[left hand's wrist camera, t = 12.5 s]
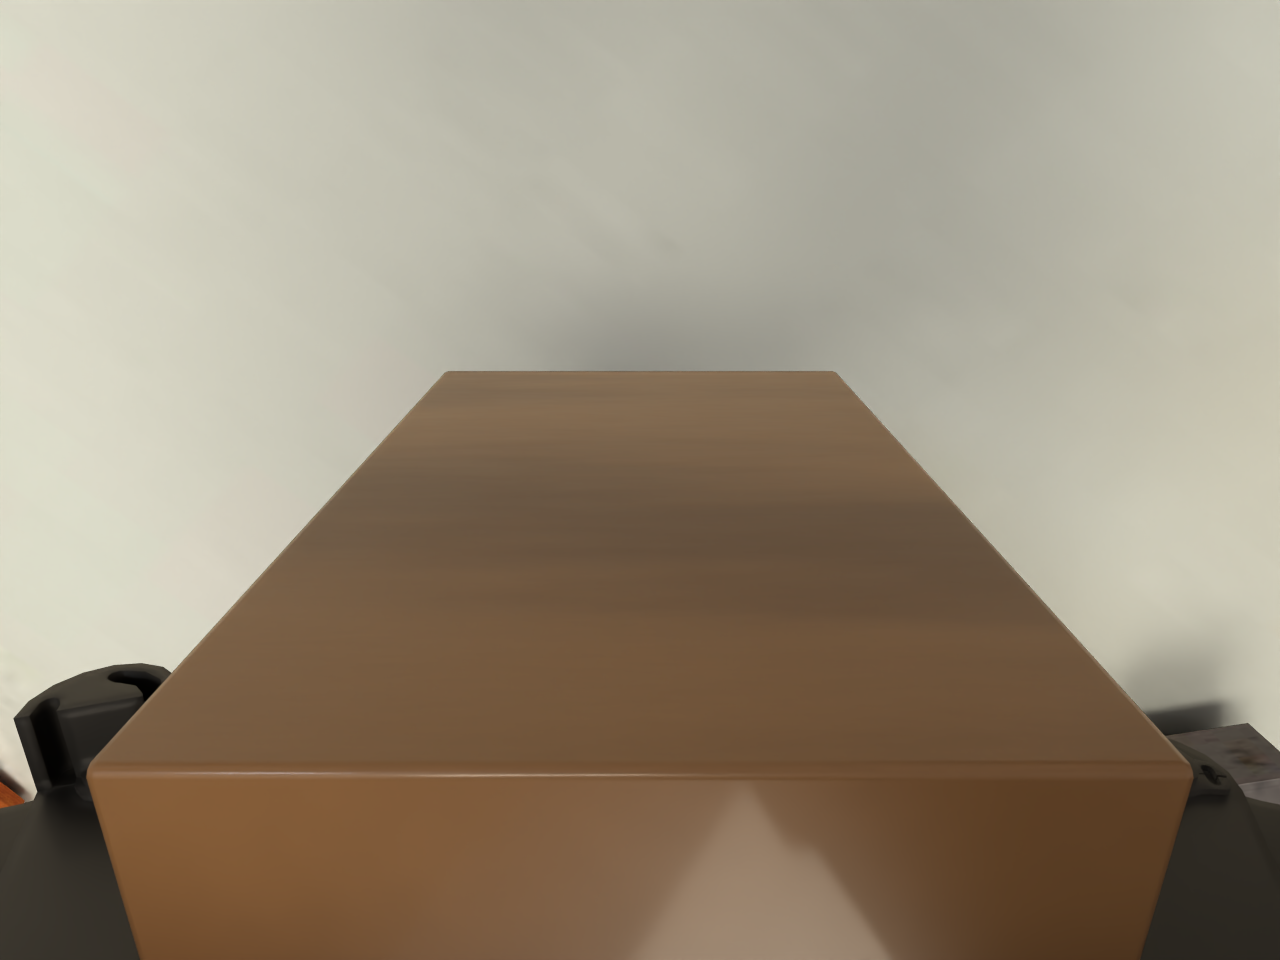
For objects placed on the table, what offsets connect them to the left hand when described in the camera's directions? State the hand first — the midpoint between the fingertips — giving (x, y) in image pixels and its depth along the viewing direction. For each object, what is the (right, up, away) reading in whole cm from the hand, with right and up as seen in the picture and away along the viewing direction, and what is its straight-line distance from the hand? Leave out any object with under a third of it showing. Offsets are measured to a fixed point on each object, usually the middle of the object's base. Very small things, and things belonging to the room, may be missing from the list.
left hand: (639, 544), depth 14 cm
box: (0, -11, +5) cm, 12 cm away
